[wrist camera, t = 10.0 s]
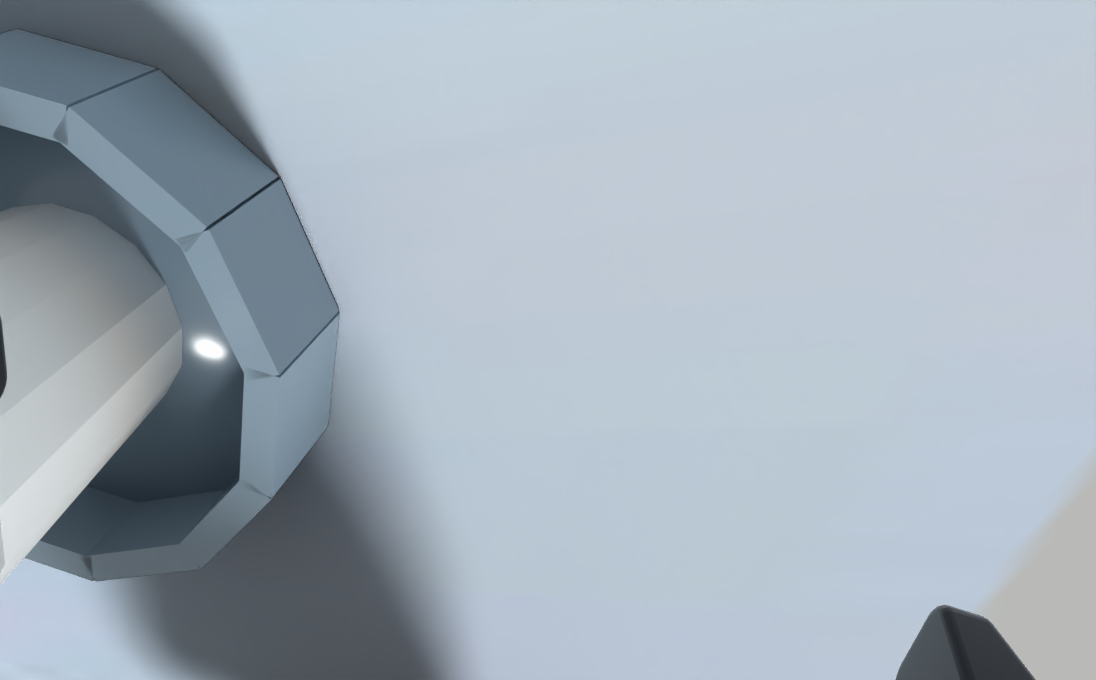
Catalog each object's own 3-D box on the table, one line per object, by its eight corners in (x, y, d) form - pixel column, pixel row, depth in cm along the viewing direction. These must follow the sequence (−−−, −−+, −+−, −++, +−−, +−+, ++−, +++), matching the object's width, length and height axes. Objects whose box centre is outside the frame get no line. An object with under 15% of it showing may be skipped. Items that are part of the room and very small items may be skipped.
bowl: (314, 560, 27) (262, 639, 25) (-92, 424, 29) (-182, 486, 26) (358, 125, 21) (294, 171, 18) (-170, -24, 22) (-299, -1, 20)
